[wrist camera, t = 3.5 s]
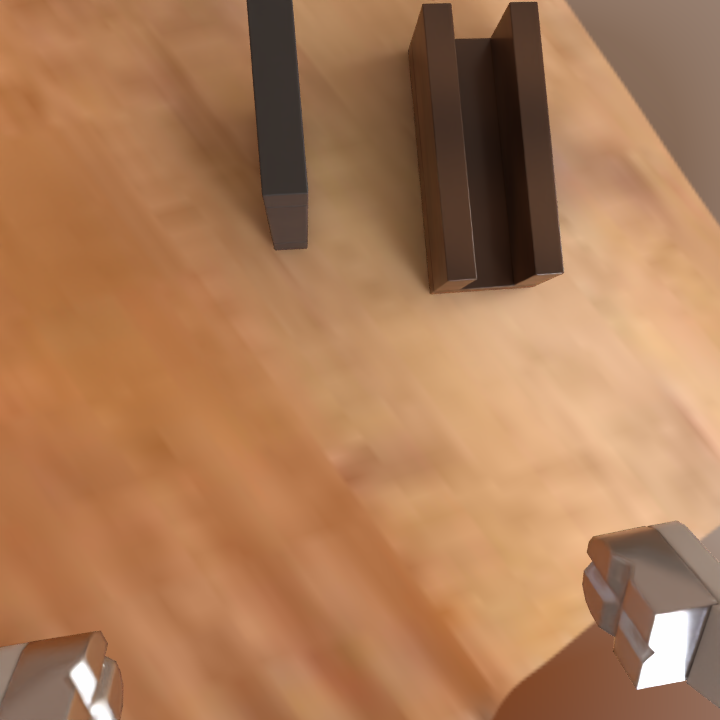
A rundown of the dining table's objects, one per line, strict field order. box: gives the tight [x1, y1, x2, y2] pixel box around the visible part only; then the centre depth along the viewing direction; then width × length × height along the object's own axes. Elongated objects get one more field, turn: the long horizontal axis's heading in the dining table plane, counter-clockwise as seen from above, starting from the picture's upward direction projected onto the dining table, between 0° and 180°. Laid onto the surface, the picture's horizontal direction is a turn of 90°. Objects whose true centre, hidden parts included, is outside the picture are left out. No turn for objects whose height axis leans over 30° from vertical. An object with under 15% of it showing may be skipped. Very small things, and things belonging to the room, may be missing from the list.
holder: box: [408, 2, 564, 294], centre depth 30 cm, size 14×6×4 cm, turn 5°
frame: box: [247, 0, 308, 250], centre depth 27 cm, size 8×2×9 cm, turn 5°
